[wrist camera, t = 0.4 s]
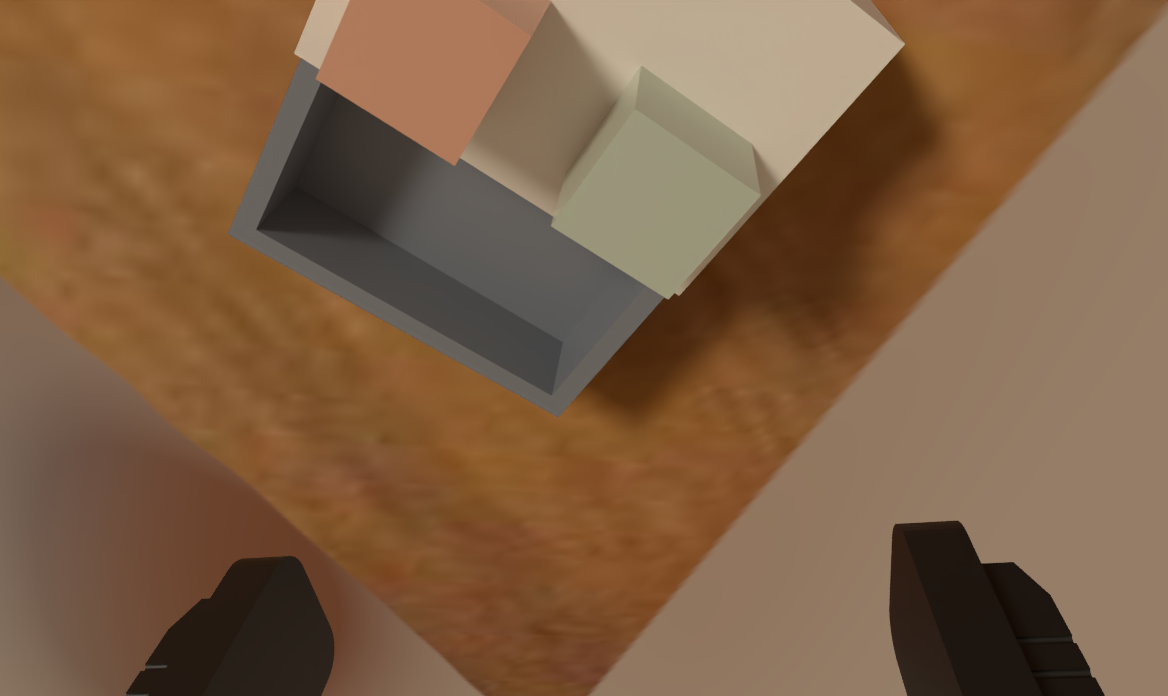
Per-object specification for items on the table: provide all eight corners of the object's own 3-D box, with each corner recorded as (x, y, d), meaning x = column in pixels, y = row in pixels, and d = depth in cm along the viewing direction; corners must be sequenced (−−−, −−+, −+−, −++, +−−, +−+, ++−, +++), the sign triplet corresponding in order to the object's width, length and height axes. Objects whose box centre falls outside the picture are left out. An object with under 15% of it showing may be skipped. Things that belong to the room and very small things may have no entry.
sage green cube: (641, 64, 22) (635, 108, 20) (751, 144, 23) (760, 195, 21) (565, 173, 25) (550, 226, 22) (669, 240, 26) (668, 299, 23)
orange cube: (420, -92, 21) (379, -69, 18) (551, 1, 22) (531, 37, 19) (360, 39, 23) (315, 79, 20) (481, 118, 24) (454, 166, 21)
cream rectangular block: (491, -308, 22) (448, -323, 18) (869, -1, 25) (905, 43, 21) (351, 10, 27) (294, 53, 23) (679, 226, 31) (678, 296, 27)
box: (351, 10, 27) (306, 43, 24) (679, 226, 31) (679, 280, 28) (273, 186, 32) (227, 234, 28) (569, 357, 35) (558, 417, 32)
